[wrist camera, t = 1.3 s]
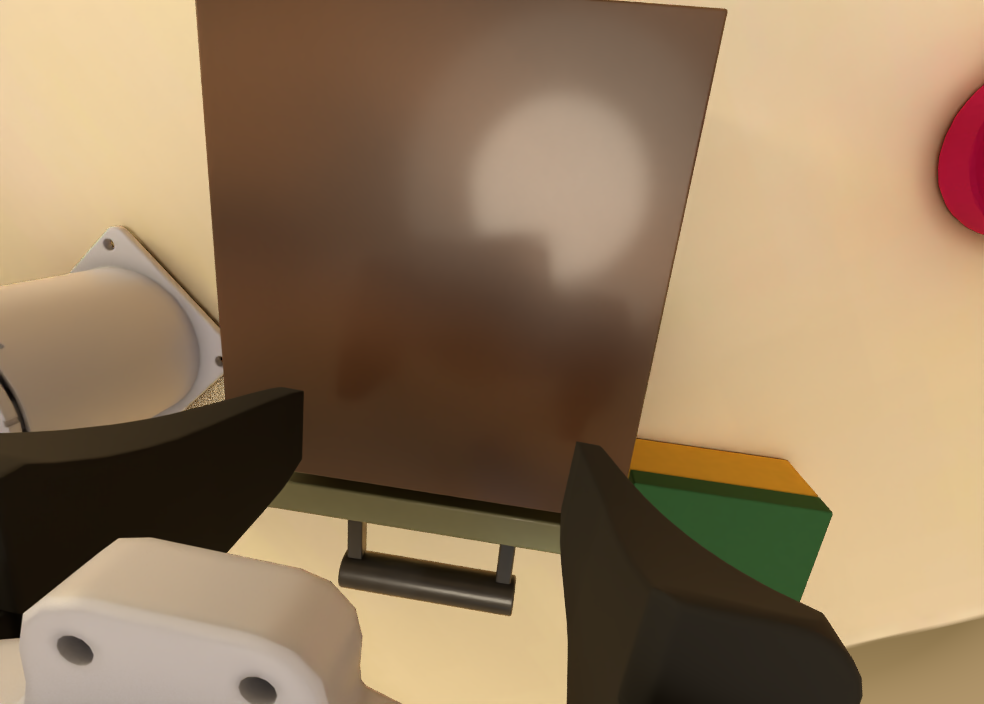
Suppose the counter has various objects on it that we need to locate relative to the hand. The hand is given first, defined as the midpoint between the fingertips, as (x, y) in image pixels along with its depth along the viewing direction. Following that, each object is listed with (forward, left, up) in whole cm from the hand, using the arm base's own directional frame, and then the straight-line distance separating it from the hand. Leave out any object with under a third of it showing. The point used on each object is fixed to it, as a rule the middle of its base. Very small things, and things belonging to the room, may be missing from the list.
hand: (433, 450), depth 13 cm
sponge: (+3, -12, -10) cm, 16 cm away
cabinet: (+2, +3, -10) cm, 11 cm away
